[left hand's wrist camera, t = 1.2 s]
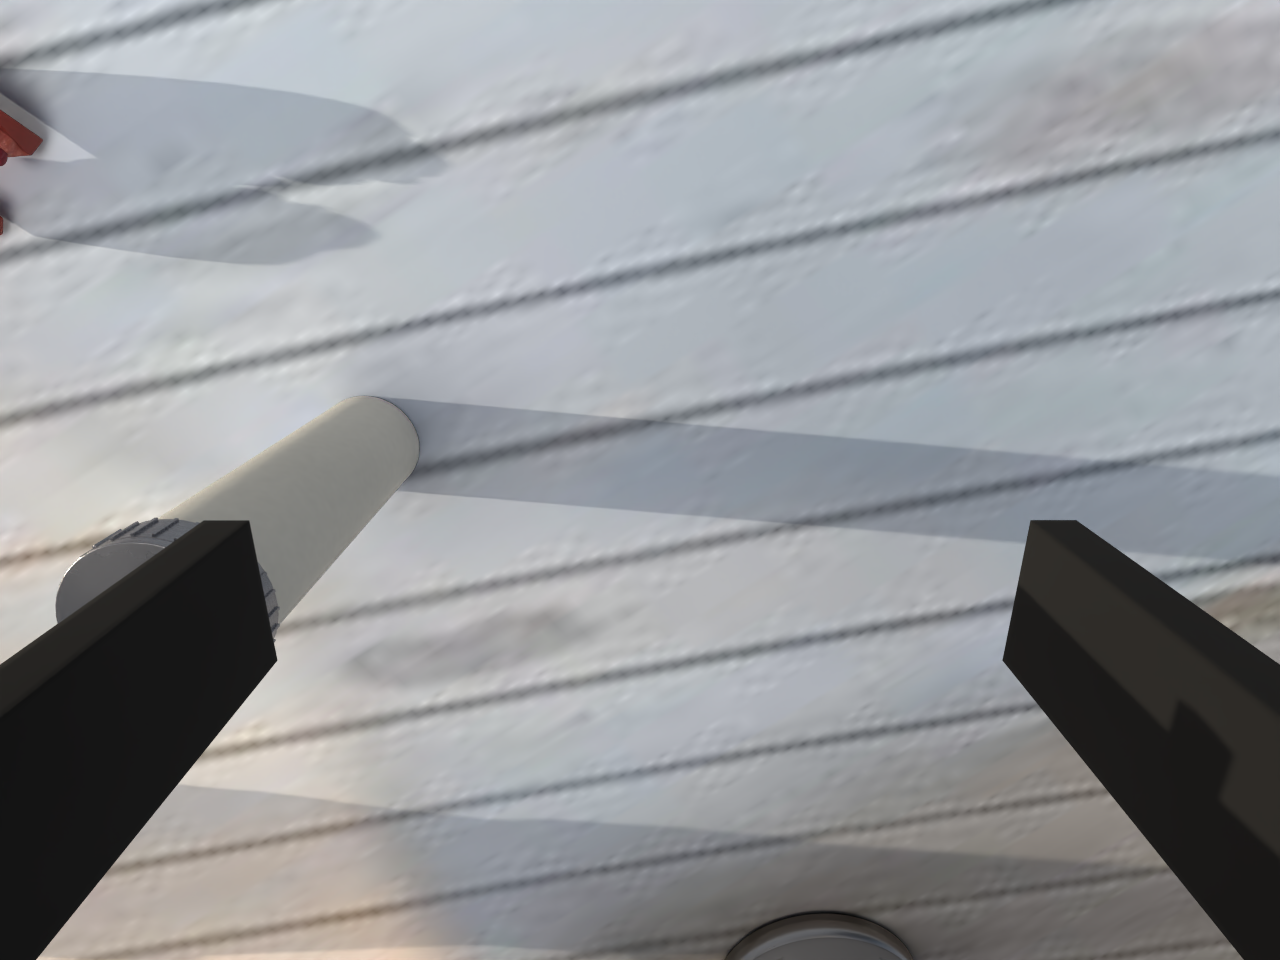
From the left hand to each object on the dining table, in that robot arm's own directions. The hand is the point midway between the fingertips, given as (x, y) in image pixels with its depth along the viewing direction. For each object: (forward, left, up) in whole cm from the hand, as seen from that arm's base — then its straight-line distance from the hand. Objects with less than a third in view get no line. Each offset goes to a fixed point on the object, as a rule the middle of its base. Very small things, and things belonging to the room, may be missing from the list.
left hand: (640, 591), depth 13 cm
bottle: (-6, +15, -28) cm, 32 cm away
